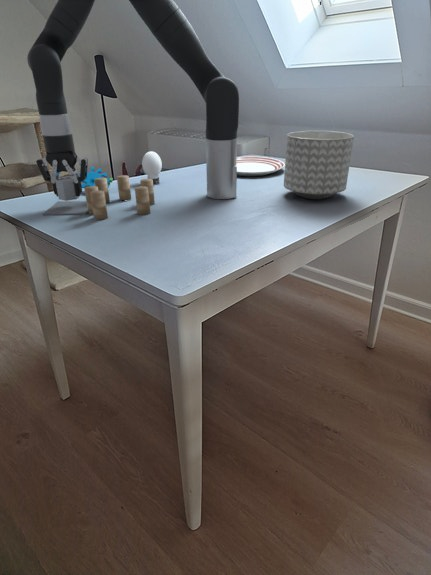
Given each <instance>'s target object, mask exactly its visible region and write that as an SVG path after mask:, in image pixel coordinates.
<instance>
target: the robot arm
mask: <svg viewBox="0 0 431 575" xmlns="http://www.w3.org/2000/svg"><path fill="white" fill-rule="evenodd" d="M128 1H129V3H130V4H131V5H132V7H133V8H134V10H135V11H136V13H137V15H138V16H139V17H140V18H141V20H142V21H143V23H144V24H145V25H146V26H147V28H148V30H150V32H151V34H152V35H153V36H154V38H155V39H156V41H158V43H159V44H160V45H161V47H162V48H163V49H164V51H165V52H166V53H167V54H168V56H170V57H171V58H172V60H173V61H174V62H175V63H176V64H177V65H178V66H179V67H180V68H181V69H182V70H183V72H185V73H186V75H188V77H189V78H190V79H191V81H192V82H193V84H194V85H195V87H196V88H197V90H198V93H200V95H201V97H202V99H203V100H204V102H205V108H206V109H205V112H206V113H205V116H206V118H205V119H206V121H205V157H206V160H205V161H206V196H207V198H210V199H214V200H228V199H229V200H230V199H233V198H234V199H236V198H237V186H238V184H237V183H238V182H237V181H238V180H237V176H238V175H237V166H236V157H238V156H237V155H238V154H237V151H238V150H237V147H238V145H237V144H238V143H237V139H238V129H239V115H240V113H239V112H240V94H239V93H240V92H239V89H238V86H237V85H236V83H235V82H234V81H233V80H232V79H230V78H228V77H225V76H224V74H223V73H221V71H220V70H219V68H218V67H216V65H215V64H214V63H213V61H212V60H211V58H210V57H209V56H208V54H207V53H206V50H205V49H204V46H203V44H202V42H201V40H200V39H199V36H198V35H197V33H196V31H195V29H194V27H193V26H192V24H191V23H190V21H189V20H188V18H187V17H186V15H185V14H184V13H183V11H182V10H181V8H180V7H179V6H178V5H177V3H176V2H175V1H174V0H128ZM95 2H96V0H57V2H56V4H55V5H54V7H53V9H52V11H51V12H50V14H49V16H48V19H47V20H46V23H45V25H44V27H43V29H42V30H41V32H40V33H39V35H38V36H37V38H36V40H35V41H34V43H33V45H32V46H31V47H30V49H29V51H28V53H27V57H26V58H27V65H28V67H29V69H30V70H31V73H32V77H33V78H32V79H33V82H34V86H35V100H36V104H37V109H38V114H39V115H38V116H39V125H40V132H41V134H42V135H41V136H42V140H43V144H44V149H45V152H46V155H45V157H42V158H38V159H36V162H35V163H36V164H37V165H36V166H37V167H38V169H39V171H40V173H41V176H42V178H43V180H44V182H50V183H51V185H52V190H53V193H54V195H56V197H58V192H57V187H56V182H55V180H56V179H57V178H59V177H60V173H61V172H64V173H68V176H70V177H72V179H73V181H74V182H75V183H74V186H75V191H76V196H80V197H81V194H82V193H83V188H82V186H81V184H82V182H81V181H84V180H85V179H86V178H87V169H89V168H88V166H89V159H88V158H87V157H84V158H83V157H78V155H77V153H76V148H75V142H74V138H73V131H72V126H71V125H72V124H71V121H70V119H69V114H68V108H67V103H66V102H67V101H66V97H65V94H64V83H63V82H64V80H63V69H62V65H61V64H62V63H61V62H62V61H63V58H64V57H65V55H66V53H67V52H68V50H69V49H70V48H71V47H72V46H73V44H74V43H75V41H76V40H77V38H78V37H79V34H80V33H81V31H82V29H83V28H84V26H85V24H86V22H87V19H88V18H89V15H90V13H91V12H92V8H93V6H94V4H95ZM77 163H78V166H79V167H80V169H79V170H80V172H79V171H78V170H77V167H76V164H77ZM48 164H49V165H50V167H51V173H50V171H49V168H48V167H47V166H48ZM78 172H79V173H80V176H79V173H78Z"/></svg>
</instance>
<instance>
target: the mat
mask: <svg viewBox="0 0 431 575" xmlns="http://www.w3.org/2000/svg"><path fill="white" fill-rule="evenodd" d="M87 214H89V213H88V207H87V201H86V200H82V201H81V200H76V201H75V200H74V201H73V200H68V201H65V200H59V201H57V202H55V203H54V204H53V205H51V206H50V207H48V209H46V210H45V211H44V212H42V215H43V216H51V215H52V216H63V215H64V216H71V215H73V216H76V215H78V216H79V215H80V216H81V215H85V216H86V215H87Z"/></svg>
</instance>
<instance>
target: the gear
mask: <svg viewBox="0 0 431 575" xmlns="http://www.w3.org/2000/svg"><path fill="white" fill-rule="evenodd" d="M88 169H89V170H90V172H88V171H89V170H88ZM94 171H95V167H94V166H90V168H87V178H86V179H85V180H84V181H81V186H82V189H84V188H85V187H88V186H95V181H94V179H96V178H107V177H108V174H107V173H106V172H103V169H101V168H100V167H99V168H98V169H97V170H96V171H95V172H94ZM78 175H79V176H80V172H79V173H78ZM113 180H114V178H113V177H110V178H107V184H108V189H110V186H111V183H113V182H114V181H113Z"/></svg>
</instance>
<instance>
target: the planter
mask: <svg viewBox="0 0 431 575" xmlns="http://www.w3.org/2000/svg"><path fill="white" fill-rule="evenodd" d="M354 137H355V136H354V134H352V133H348V132H342V131H334V130H300V131H293V132H289V133H287V134H286V145H285V146H286V148H285V160H284V163H285V167H284V176H283V187H284V188H285V189H287V190H289V191H292V193H293V194H295V195H297V196H299V197H301V198H303V199H308V200H323V199H326V198H330V197H332V196H334V195H335V194H338V193H339V194H340V193H342V192H344V191H346V189H347V185H348V178H349V177H348V176H349V173H350V166H351V157H352V151H353V143H354Z"/></svg>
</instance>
